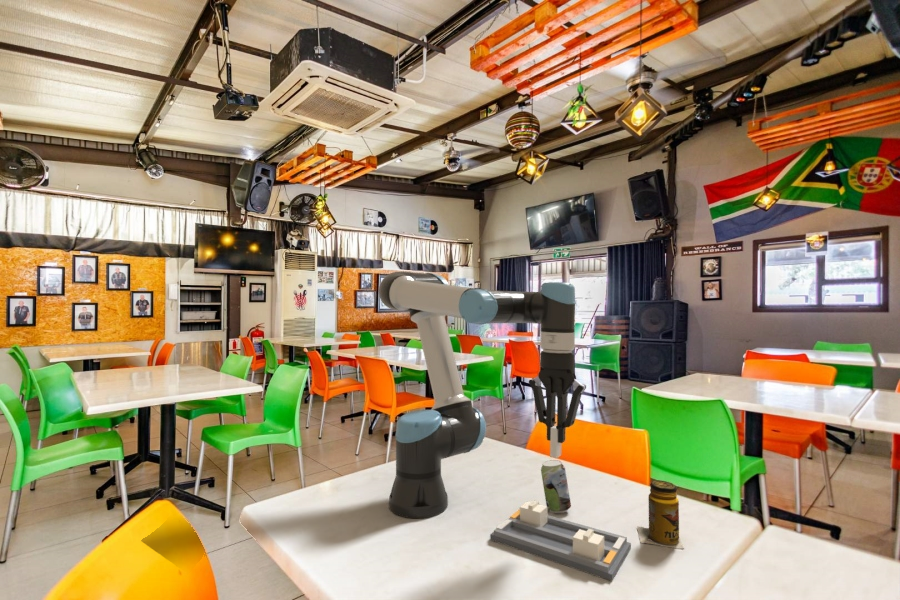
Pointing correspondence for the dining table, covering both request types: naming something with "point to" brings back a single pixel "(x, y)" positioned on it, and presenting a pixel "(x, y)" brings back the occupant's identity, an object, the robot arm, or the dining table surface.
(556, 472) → the beverage can
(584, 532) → the tab
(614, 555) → the switch bank
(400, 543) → the dining table surface
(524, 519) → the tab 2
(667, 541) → the condiment
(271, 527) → the dining table surface
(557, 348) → the robot arm
